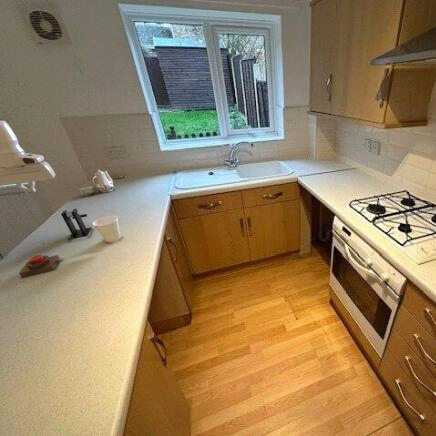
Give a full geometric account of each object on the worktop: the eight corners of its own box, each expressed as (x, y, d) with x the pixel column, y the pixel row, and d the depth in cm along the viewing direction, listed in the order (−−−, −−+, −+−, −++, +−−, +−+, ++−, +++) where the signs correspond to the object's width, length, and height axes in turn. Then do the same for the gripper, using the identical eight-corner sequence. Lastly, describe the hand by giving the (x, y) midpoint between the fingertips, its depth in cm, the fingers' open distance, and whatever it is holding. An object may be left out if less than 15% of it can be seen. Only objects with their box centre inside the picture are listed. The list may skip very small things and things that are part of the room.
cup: (114, 246, 113) (105, 226, 107) (96, 245, 114) (86, 225, 109) (130, 235, 121) (122, 216, 116) (113, 234, 123) (104, 215, 117)
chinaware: (107, 186, 193) (97, 165, 185) (126, 183, 191) (117, 163, 183) (79, 200, 168) (65, 177, 160) (100, 197, 167) (88, 174, 159)
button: (29, 265, 96) (26, 262, 95) (33, 260, 99) (31, 256, 98) (42, 262, 97) (40, 259, 96) (45, 257, 100) (43, 253, 100)
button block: (22, 277, 95) (16, 270, 93) (30, 266, 101) (25, 258, 99) (54, 270, 98) (49, 262, 97) (60, 259, 105) (56, 251, 103)
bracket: (74, 232, 125) (61, 208, 119) (92, 228, 128) (81, 205, 122) (68, 242, 117) (54, 217, 111) (88, 237, 120) (76, 213, 114)
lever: (73, 220, 126) (72, 215, 126) (87, 217, 128) (86, 213, 128) (61, 217, 114) (60, 213, 114) (77, 215, 117) (76, 210, 117)
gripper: (-30, 165, 89) (-7, 199, 95) (41, 158, 96) (58, 190, 103) (-19, 161, 94) (1, 194, 100) (47, 155, 101) (63, 185, 108)
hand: (31, 192), depth 102 cm, fingers closed
